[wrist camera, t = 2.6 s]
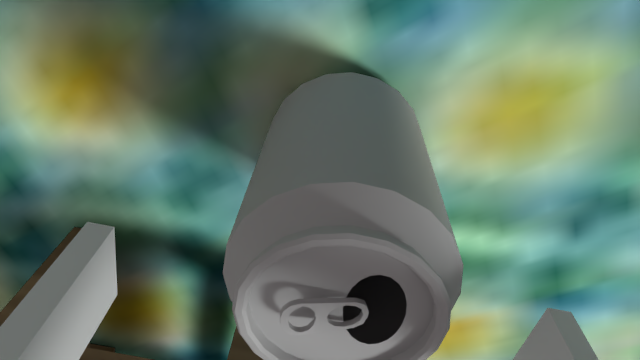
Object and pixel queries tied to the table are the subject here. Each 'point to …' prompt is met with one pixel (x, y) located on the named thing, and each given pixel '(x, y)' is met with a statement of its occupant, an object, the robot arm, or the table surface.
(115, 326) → the table surface
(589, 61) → the table surface
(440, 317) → the can
